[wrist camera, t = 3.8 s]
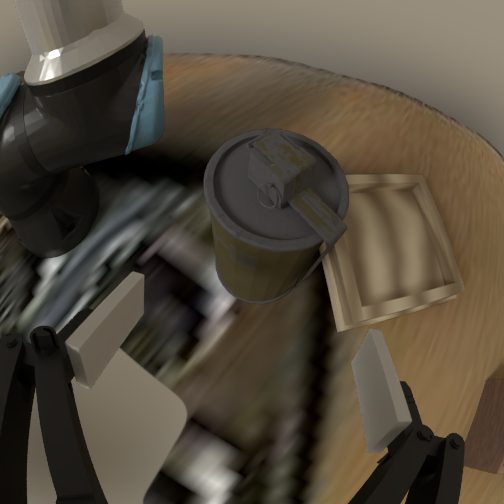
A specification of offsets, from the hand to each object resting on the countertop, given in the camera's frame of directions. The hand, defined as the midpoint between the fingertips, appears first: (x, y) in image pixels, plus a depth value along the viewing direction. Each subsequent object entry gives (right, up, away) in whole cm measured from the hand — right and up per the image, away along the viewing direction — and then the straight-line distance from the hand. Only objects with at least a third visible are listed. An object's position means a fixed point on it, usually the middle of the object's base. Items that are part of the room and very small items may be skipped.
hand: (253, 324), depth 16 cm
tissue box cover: (+46, -29, +12) cm, 55 cm away
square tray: (+19, +5, +22) cm, 29 cm away
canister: (+1, +2, +20) cm, 21 cm away
